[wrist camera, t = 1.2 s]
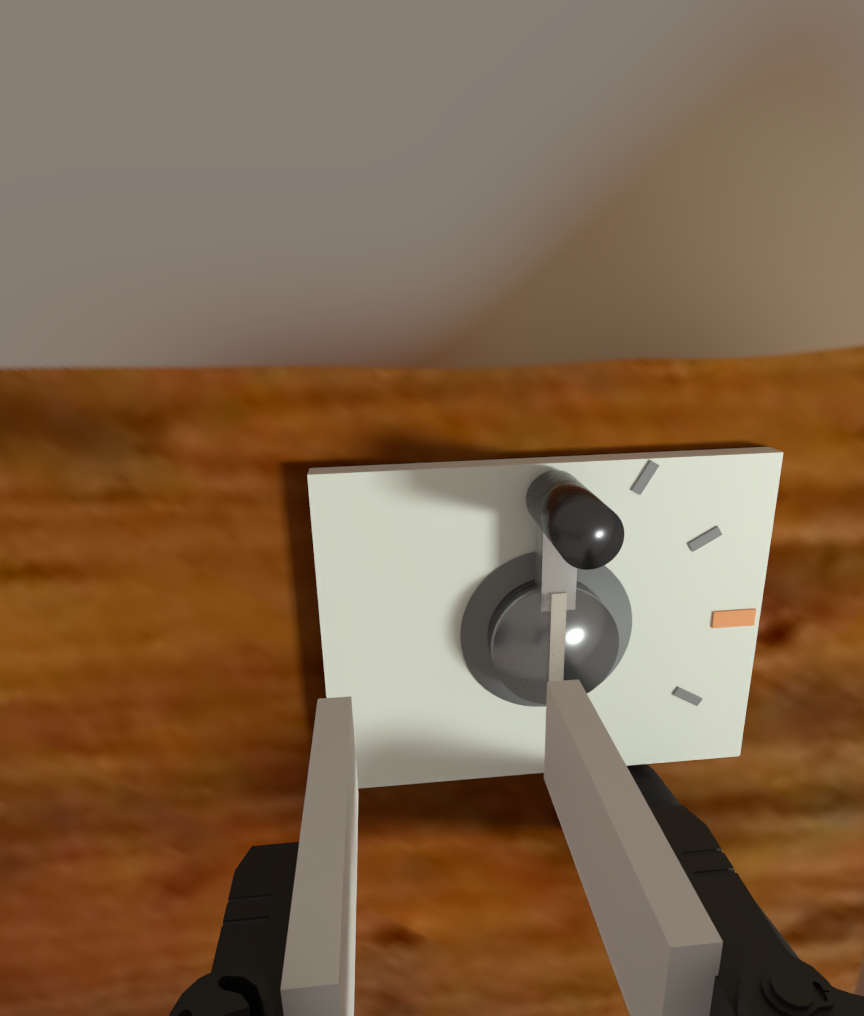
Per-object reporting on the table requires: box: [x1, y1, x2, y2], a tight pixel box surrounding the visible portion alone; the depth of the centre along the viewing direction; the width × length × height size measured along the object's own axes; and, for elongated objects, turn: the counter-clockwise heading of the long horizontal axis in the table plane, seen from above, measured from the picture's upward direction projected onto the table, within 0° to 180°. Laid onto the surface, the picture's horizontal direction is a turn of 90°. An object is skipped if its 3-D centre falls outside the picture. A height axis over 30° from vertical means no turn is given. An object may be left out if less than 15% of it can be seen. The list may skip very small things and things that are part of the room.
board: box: [307, 447, 783, 789], centre depth 33 cm, size 22×17×1 cm
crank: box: [487, 470, 624, 704], centre depth 29 cm, size 11×6×6 cm, turn 1°
